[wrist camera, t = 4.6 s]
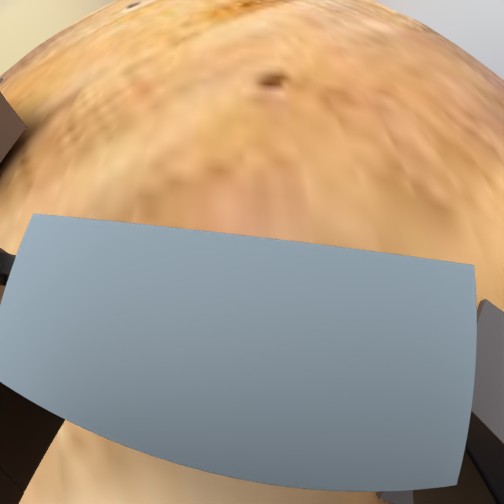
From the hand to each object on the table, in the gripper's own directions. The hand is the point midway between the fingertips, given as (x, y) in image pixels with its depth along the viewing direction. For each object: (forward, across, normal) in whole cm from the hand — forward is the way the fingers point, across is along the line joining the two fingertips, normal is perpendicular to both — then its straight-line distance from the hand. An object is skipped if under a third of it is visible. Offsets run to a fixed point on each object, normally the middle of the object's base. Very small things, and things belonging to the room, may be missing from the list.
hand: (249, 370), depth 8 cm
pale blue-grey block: (+6, 0, +6) cm, 8 cm away
